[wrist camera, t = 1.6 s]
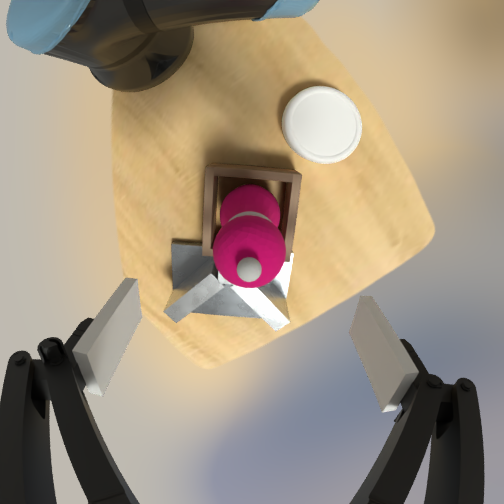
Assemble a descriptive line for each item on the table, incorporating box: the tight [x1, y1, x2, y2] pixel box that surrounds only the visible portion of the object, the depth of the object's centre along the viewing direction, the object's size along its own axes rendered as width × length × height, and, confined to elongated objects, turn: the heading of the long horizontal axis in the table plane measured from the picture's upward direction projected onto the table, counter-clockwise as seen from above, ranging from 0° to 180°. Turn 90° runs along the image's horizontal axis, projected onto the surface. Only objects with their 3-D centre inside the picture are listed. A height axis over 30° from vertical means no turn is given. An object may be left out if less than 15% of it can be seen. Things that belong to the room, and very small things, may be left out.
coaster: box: [282, 86, 362, 164], centre depth 32 cm, size 10×10×4 cm
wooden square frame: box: [202, 163, 302, 263], centre depth 36 cm, size 11×11×5 cm
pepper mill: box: [213, 184, 286, 288], centre depth 29 cm, size 7×7×20 cm
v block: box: [163, 241, 293, 331], centre depth 39 cm, size 17×11×7 cm, turn 85°
